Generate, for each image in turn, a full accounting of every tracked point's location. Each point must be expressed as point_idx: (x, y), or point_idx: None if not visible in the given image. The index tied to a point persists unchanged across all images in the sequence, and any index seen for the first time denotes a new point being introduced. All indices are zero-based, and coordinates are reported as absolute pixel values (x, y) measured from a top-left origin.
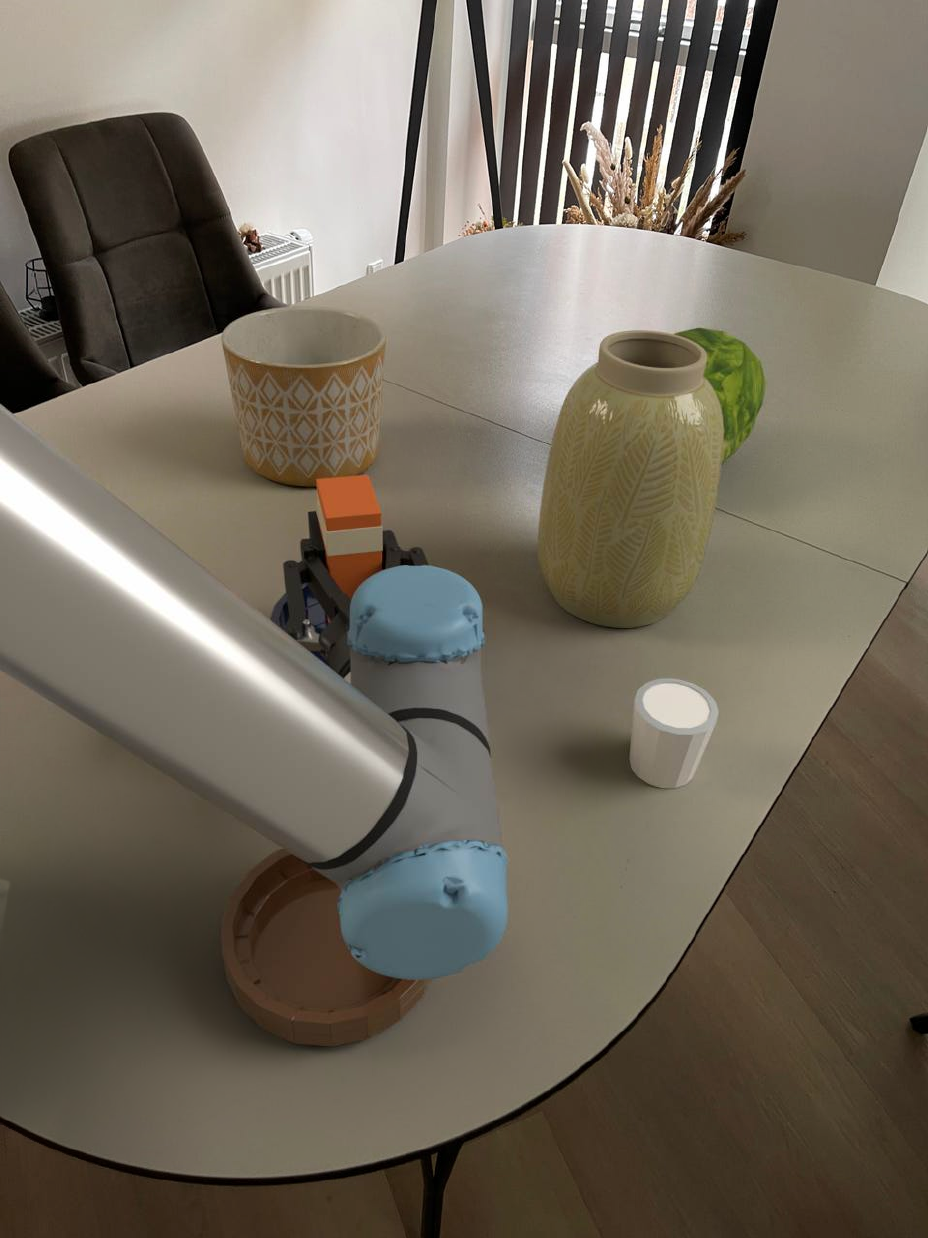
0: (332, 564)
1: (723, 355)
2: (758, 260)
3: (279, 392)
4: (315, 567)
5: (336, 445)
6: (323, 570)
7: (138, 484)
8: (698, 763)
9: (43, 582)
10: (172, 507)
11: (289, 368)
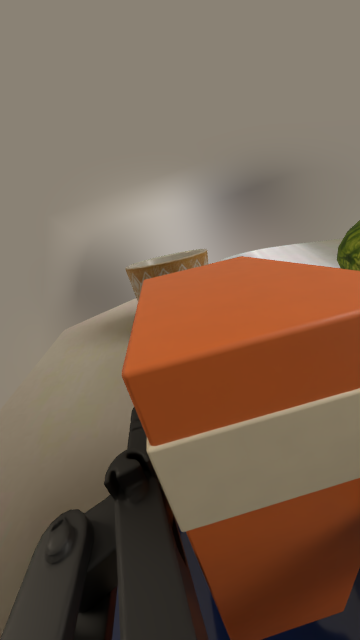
0: (206, 547)
1: None
2: (319, 241)
3: None
4: (139, 575)
5: None
6: (170, 615)
7: (97, 347)
8: None
9: None
10: (108, 356)
11: (155, 265)
